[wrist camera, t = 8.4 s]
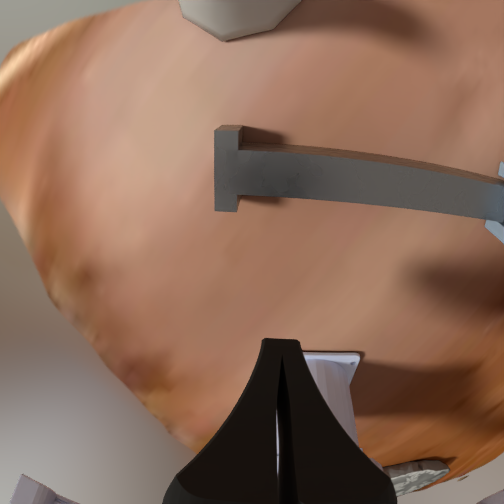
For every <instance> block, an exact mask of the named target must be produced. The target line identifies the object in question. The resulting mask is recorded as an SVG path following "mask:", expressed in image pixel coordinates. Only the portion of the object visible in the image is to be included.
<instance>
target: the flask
mask: <svg viewBox="0 0 504 504" xmlns="http://www.w3.org/2000/svg"><path fill="white" fill-rule="evenodd" d="M178 1H179V5H180V8H181V12H182V15H183V18H185V19H187V20H188V21H190V22H192V23H193V24H195V25H197V26H198V27H200V28H202V29H203V30H205V31H206V32H208V33H209V34H211V35H213V36H214V37H216V38H217V39H219V40H220V41H222V42H223V41H227V40H230V39H234V38H238V37H242V36H246V35H250V34H255V33H259V32H264V31H268V30H273V29H274V28H275V27H276V26H277V25H278V24H279V23H280V22H281V21H282V20H283V19H284V18H285V16H286V15H287V14H288V13H289V12H290V11H292V10H293V9H294V8H295V7H296V6H297V5H298V4H299V3H300V2H301V1H302V0H178Z"/></svg>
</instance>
